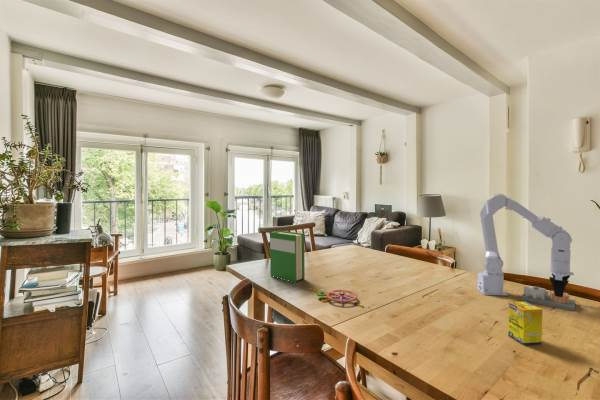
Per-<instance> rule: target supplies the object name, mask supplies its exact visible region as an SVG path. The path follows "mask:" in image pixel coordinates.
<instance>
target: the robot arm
mask: <svg viewBox="0 0 600 400" xmlns="http://www.w3.org/2000/svg"><path fill="white" fill-rule="evenodd" d="M503 208H505V210H509V211H514V212H515V213H517V214H518V215H520V216H522V217H523V218H524V219H526V220H527V221H528V222H531V226H532V228H533V229H534V230H536V231H537V232H539V233H541V234H542V235H543V236H545V237H546V238H550V239H551V242H552V243H551V249H550V269H549V272H550V273H551V275H552V276H549V281H550V282H551V285H552V288H553V291H554V294H555V296H558V297H562V296H563V293H565V289H566V287H567V285H568V284H569V282H570V281H569V278H570V277H571V276H575V273H574V272H572V271H571V243H572V241H573V238H572V235H570V233H569V232H568V231H567V230H566V229H563V227H562V226H558V225H557V224H555V223H554V222H553V221H551V218H549V217H545V216H537V215H536V214H534V213H533V212H532V211H531V210H529V209H528V208H526V207H525V206H524V205H522V204H520V203H519V202H518V201H516V200H514V199H512V198H511V197H507V196H506V195H505V194H504V193H503V194H502V193H497V194H493V195H491V196H490V197H489V198H487V199H486V201H485V203H484V205H483V206H482V208H481V210H480V212H479V216H480V223H481V229H482V236H483V242H484V249H485V263H484V271H483V272H478V273H477V283H476V284H477V287H476V289H477V290H478V291H479V292H480V293H481V294H483V295H487V296H503V297H504V296H508V294H507V293H506V292H505V291H504V278H505V276H504V271H502V270H503V266H504V261H503V259H502V258H501V256H500V251H499V249H498V248H499V247H498V241H497V235H496V229H495V222H494V215H495V214H496V213H497V212H498V211H499V210H501V209H503Z"/></svg>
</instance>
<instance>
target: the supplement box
mask: <svg viewBox="0 0 600 400" xmlns="http://www.w3.org/2000/svg"><path fill="white" fill-rule="evenodd" d="M543 312H544V311H543V308H540V307H537V306H535V305H533V304H531V303H530V302H528V301H510V302H508V324H507V325H508V329H507V330H508V331H507V333H508V334H507V336H508V337H510V338H512V339H514V340H515V341H516V342H518V343H519V344H520V345H522V346H538V345H542V339H543V338H542V336H543V334H542V333H543V332H542V331H543Z"/></svg>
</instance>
